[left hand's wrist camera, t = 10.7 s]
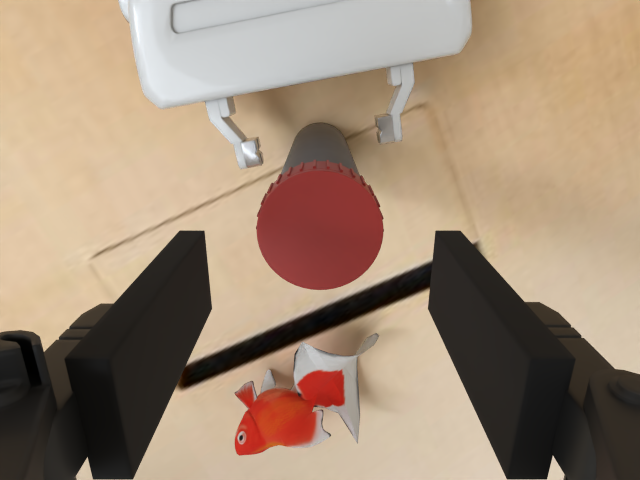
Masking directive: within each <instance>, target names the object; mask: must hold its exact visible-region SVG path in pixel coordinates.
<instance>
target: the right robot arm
mask: <svg viewBox="0 0 640 480" xmlns="http://www.w3.org/2000/svg"><path fill="white" fill-rule="evenodd" d="M118 1H119V5H120V8H121V11H122V13H123V15H124V17H125V19H126V20H127V21H128V23H129V24H130V32H131V39H132V45H133V51H134V56H135V61H136V66H137V71H138V75H139V79H140V83H141V87H142V90H143V93H144V95H145V96H146V98H147V99H148V100H150V101H151V102H152V103H153V104H154V105H156V106H157V107H158V108H160V109H168V108H174V107H179V106H185V105H190V104H195V103H201V102H205V104H206V108H207V112H208V116H209V119H210V121H211V122H212V123H213V124H214V126H215V127H216V128H217V129H218V130H219V131H220V132H221V133H222V134H223V135H224V136H225V138H226V139H227V140H228V141H229V142H230V143H231V144H233V145H234V149H235V153H236V157H237V161H238V165H239V167H240V169H246V168H251V167H256V166H261V165H262V164H263V155H262V152H261V151H260V150H259V149H260V146H261V145H260V141H259V137H253V138H247V137H246V136H245V135H244V134H243V133H242V131H241V130H240V129H239V128H238V127H237V126H236V124H235V123H234V122H233V121H232V120H231V118H230V117H229V116H231V115H233V114H235V113H236V109H235V105H234V100H233V96H237V95H242V94H248V93H253V92H258V91H264V90H269V89H274V88H280V87H285V86H290V85H296V84H301V83H306V82H312V81H317V80H322V79H328V78H333V77H338V76H343V75H349V74H354V73H359V72H365V71H370V70H375V69H381V68H386V75H387V82H388V84H389V85H391V86H396V88H395V90H394V93H393V96H392V98H391V101H390V103H389V106H388V108H387V111H386V113H385V114H380V115H375V116H374V117H375V125H376V127H377V128H378V130H377V132H376V133H377V139H378V143H379V144H386V143H393V142H398V141H402V129H401V120H400V113H402V111H403V109H404V107H405V104H406V102H407V100H408V97H409V95H410V93H411V90H412V88H413V86H414V83H415V81H414V70H413V63H414V62H419V61H425V60H430V59H435V58H440V57H446V56H451V55H456V54H459V53H460V52H461V51H462V50H463V48H464V47H465V45H466V43H467V42H468V40H469V38H470V36H471V33H472V13H471V2H470V0H118ZM246 138H247V139H246Z"/></svg>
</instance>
